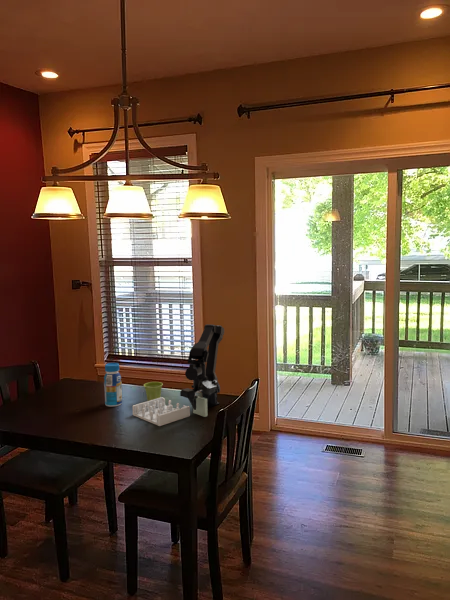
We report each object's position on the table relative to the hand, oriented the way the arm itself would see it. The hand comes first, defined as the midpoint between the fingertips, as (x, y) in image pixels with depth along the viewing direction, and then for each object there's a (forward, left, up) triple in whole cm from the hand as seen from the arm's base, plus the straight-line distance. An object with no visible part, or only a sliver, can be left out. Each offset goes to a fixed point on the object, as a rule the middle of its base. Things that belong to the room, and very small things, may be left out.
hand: (200, 407), depth 216 cm
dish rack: (+13, -12, -3) cm, 18 cm away
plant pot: (+3, -31, -3) cm, 31 cm away
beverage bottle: (+19, -42, -3) cm, 46 cm away
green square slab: (0, 0, -3) cm, 3 cm away
